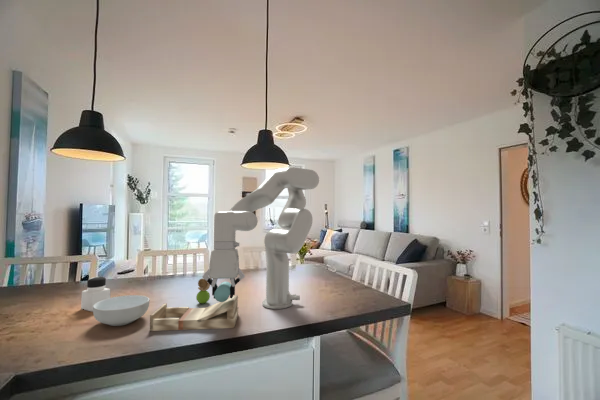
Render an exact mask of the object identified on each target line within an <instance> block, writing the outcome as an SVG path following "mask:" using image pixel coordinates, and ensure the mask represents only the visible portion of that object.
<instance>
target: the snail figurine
mask: <svg viewBox="0 0 600 400" xmlns="http://www.w3.org/2000/svg"><path fill="white" fill-rule="evenodd" d="M197 285H198V287H197V289H198V290H199V292H197V294H196V301H197V302H198V303H199V304H203V305H204V304H206V303H207V302H209V300H210V297H211V295H210V292H209V291H208V290H209V289H210V287H211V285H210V284H209V283H208V282H207V281H206V280H205V279H204V278H203V277H202V278H200V279H199V280H198V282H197Z"/></svg>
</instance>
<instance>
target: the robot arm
mask: <svg viewBox="0 0 600 400" xmlns="http://www.w3.org/2000/svg"><path fill="white" fill-rule="evenodd" d="M319 183H320V177H319V175H318V173H317V172H316V171H315V170H313V169H308V168H301V167H294V166H290V167H284V168H282V167H281V168H277V169H275V170H273V171H272V172H271V173H270V174H269V175H268V176H267V177H266V178H265V179H264V181H263V182H262V183H261V184H260V185H259V186H258V187H257V188H256V189H255V190H254V191H252V192H250V193H248V194H247V195H245V196H244V197H242V198H241V199H239V200H238V201H237V202H236V203H235V204H234V205H233V206H232V207H231V209H229V210H228V211H216V212H215V213H214V216H213V220H214V221H213V249H211V252H210V258H209V264H208V265H209V266H208V269H207V270H206V272H205V273H204V274H203V275H202V278H204V279H205V280H206V281H207V282H208V283H209V284H210V287H211V291H212V292H211V296H213V299H215V297H214V293H215V291H216V289H217V288H218V287H219V285H218V284H217V283H218V279H220V280H221V279H222V280H223V279H229V281H230V284H231V287H230V295H229V298H232V297H233V296H236V285H237V284H239V283H240V281H242V280H243V279H244V278H245V277H246V276H245V273H244V272H243V271H242V270H241V268H240V261H239V251H238V247H240V242H237V241H236V235H237V234H236V233H237V231H240V232H251V231H252V230H254V229H255V228H256V227H257V225H258V221H259V220H258V217H257V215H256V214H255V213H254V212H255V211H257V210H259V209H263V208H265V207H268V206H270V205H271V204H273V203H274V202H275V200H277V198H278V197H279V195H280V194H281V193H282V192H283V191H284V190H285V189H287V192H288V199H287V201H286V203H285V205H284V207H282V210H281V212H280V214H279V217H278V220H277V222H278V226H279V227H280V228H272V229H271V230H269V231H268V232H266V234H265V236H264V249H265V253H266V254H265V255H266V257H265V258H266V273H265V275H266V280H265V281H266V283H265V284H266V287H265V292H266V293H265V295H266V297H265V299H263V300H262V306H263V308H264V307H265V308H267V309H272V310H280V309H288V308H289V307H292V306H293V301H300V299H301V297H300V295H299V294H296V293H295V294H292V293H290V260H289V259H290V258H289V256H288V254H297V253H298V252H300V250H301V249H302V247H303V246H304V243H305V242H306V240H307V238H308V235H309V233H310V231H311V228H312V226H313V215H312V213H311V211H310V210H308V209H307V208H305V207H306V206H307V204H306V203H307V199H306V197H305V194H304V190H307V191H308V190H314V189H315V188H317V187H318V185H319ZM236 247H237V248H236ZM238 276H239V277H238ZM215 300H216V299H215Z"/></svg>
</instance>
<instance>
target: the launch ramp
mask: <svg viewBox="0 0 600 400" xmlns="http://www.w3.org/2000/svg"><path fill="white" fill-rule="evenodd" d="M238 299H239V295H238V294H235V295H233V297H232V298H230V297H228V299H227V300H226V301H224V302H219V301H218V302H216V303H214V304H212V305H209V306H207V307H189V306H178V307H177V306H175V307H174V306H172V307H170V306H169V307H167V306H168V305H167V304H168V303H163V304H161V306H159V307H158V308H157V309H156V310H155V311H153V312H152V313H151V314H150V315H149V331H151V332H153V331H155V332H156V331H158V332H159V331H183V330H184V331H185V330H187V331H188V330H190V331H191V330H211V329H214V330H215V329H217V330H218V329H235V326H236V323H237V319H238V317H239V306H238V301H239V300H238Z"/></svg>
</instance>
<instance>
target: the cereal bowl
mask: <svg viewBox="0 0 600 400" xmlns="http://www.w3.org/2000/svg"><path fill="white" fill-rule="evenodd" d="M150 301H151V299H150V298H149V297H148V296H146V295H140V294H138V295H137V294H129V295H127V294H125V295H120V296H119V295H118V296H114V297H110V298H108V299H105V300H102V301H99V302H97V303H96V304H94V306H93V311H92V313H93V317H94V319H95V320H96V321H97V322H99V323H101V324H104V325H107V326H112V327H116V326H117V327H121V326H125V325H129V324H131V323H133V322H135V321H136V320H138V319H140V318H141V317H143V316H144V315H145V314H146V313H147V311H148V310H149V307H150V303H151V302H150Z"/></svg>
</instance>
